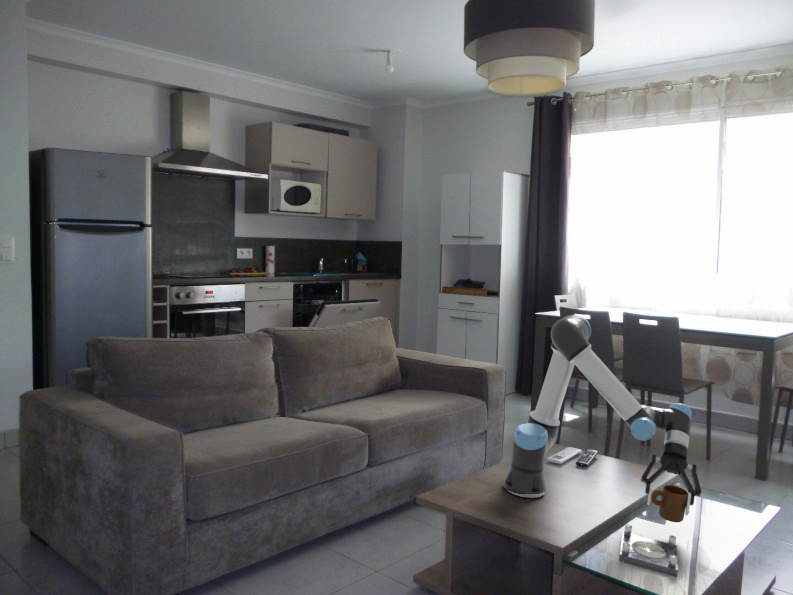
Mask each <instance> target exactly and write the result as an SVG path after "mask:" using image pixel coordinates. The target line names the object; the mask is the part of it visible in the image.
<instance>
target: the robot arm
mask: <svg viewBox="0 0 793 595" xmlns="http://www.w3.org/2000/svg"><path fill="white" fill-rule="evenodd" d="M591 335H592V328H591V324H590V323H589V321H588V320H587V319H586V318H585V317H583V316H581V315H577V314H568V315H565V316H564V317H562V318H561V319H558V320H557V321H556V322H555V323H554V324H553V326H552V327H551V330H550V339H551V341H552V342H551V345H550V348H551V350H552V351H553V352H552V355H551V359H550V363H549V365H548V368H547V371H546V375H545V378H544V381H543V384H542V388H541V390H540V393H539V397H538V401H537V403H536V406H535V410H532V411H530V413H529V414H528V418H527V420H526V423H521V424H519V425H518V426H516V427H515V430H514V433H513V443H512V444H513V445H512V450H511V451H512V452H511V459H510V466H509V469H508V470H507V472H506V475H505V477H504V479H503V485H502V487H503V486H504V487H503V489H504V488H505V489H506V490H508V491H511V492H514V493H518V494H540V493H543V492H545V493H546V491H545V490H547V487H546V481H545V476H544V469H545V468H544V467H545V461H546V460H545V457H546V454H547V453H548V452H549V451H550V450H551V448H552V447H554V445H555V444H556V442H557V440H558V435H559V433H558V432H559V427H560V426H561V425H560V424H561V422H560V419H559V418H558V417H559V414H560V411H561V408H562V404H563V402H564V398H565V397H566V396H565V395H566V392H567V389H568V387H569V384H570V381H571V377H572V374H573V371H574V368H575V366H576V367H577V369H578V370H579V371H580V372H581V374H583V376H585V378H586V379H587V380H588V381H589V383H591V384H592V386H593V387H594V388H595V390H597V391H598V392H599V394H600V395H601V396H602V397H603V398H604V399H605V400H606V401H607V403H608V404H609V405H610V406H611V407H612V408H613V410H615V412H616V413H617V414H618V415H619V416H620V418H622V419H623V421H624V422H625V423H626V424H627V426H628V427H629V428H630V432H631V435H632V436H633V437H634V438H635V439H636V440H639V441H648V440H651V439H652V438H653V437H654V436H655V434H656V433H657V430H660V431H665V434H664V442H663V447H662V454H661V455H662V456H657V455H656V454H652V455H651V461H650V463H649V464H648V466H647V467H646V469H645V471H644V472H643V474H642V475H641V479H640V481H641V482H642V483H644V484H645V485H646V486H645V491H644V492H645V494H646V495H648V496H647V502H646V505H647V506H650V505H651V502H652V500H651V495H652V493H653V487H654V482H655V481H656V480H657V479H658V478H659V477H660V476H662V474H664V473H665V472H667V473H671V474H674V475H678V476H679V478H680V479H681V480H682V483H683V485H684V486H685V488H686V491H687V492H688V498H687V504H686V509H685V514H684V516H689V514H690V507H691V506H693V505H694V503H695V497H700V496H701V494H702V489H701V484H700V480H699V478H698V473H697V468H698V467H697V465H696V464H690V463H688V461H687V460H688V451H689V450H688V449H689V443H690V442H689V441H690V433H691V427H692V409H691V408H690V407H689V406H688V405H686V404H684V403H680V402H679V403H677V402H676V403H672V404H670V405H669V407H668V408H661V407H657V406H651V405H645V404H640V403H639V401H638V400H637V399H636V398H635V397H634V396H633V395H632V394H631V393H630V391H629V390H628V389H627V388H626V386H624V384H623V383H622V382H621V381H620V380H619V379H618V378H617V377H616V375H615V374H614V373H613V372H612V371H611V370H610V368H609V367H607V365H606V364H605V363H604V362H603V361H602V360H601V359H600V357H599V356H598V355H597V354H596V353H595V352H594V351H593V350H592V344H591V343H590V342H589V341H590V340H589V339H591V338H590V337H591ZM658 463H660V464H661V466H660V468H658V469H657V470H656V471H655V472H654V473H653V474H651V476H649V474H650V473H651V471H653V468H654V467H655V465H656V464H658ZM686 469H688V471H689V472H690V477H691V480H692V483H691V481H690V479H689V478H688V476H687V473H686V471H685V470H686ZM648 476H649V477H648ZM692 484H693V485H692ZM505 489H504V490H505ZM506 490H505V491H506Z"/></svg>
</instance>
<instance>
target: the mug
mask: <svg viewBox="0 0 793 595" xmlns="http://www.w3.org/2000/svg"><path fill="white" fill-rule="evenodd" d="M688 493H689V492H688V490H687V489H683V488H682V487H679V486H676V485H672V484H671V485H669V484H667V485H664V486H663V489H662V490H661V489H657V490H654V491H652V495H651V502H652V504H653V505H656V506H659V508H658V514H659V516H660V518H662V519H664V520H665V521H668V522H672V523H681V522H683V520H684V518H685V511H686V504H687V498H688ZM658 496H660V499H657V497H658Z"/></svg>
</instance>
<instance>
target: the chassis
mask: <svg viewBox="0 0 793 595" xmlns="http://www.w3.org/2000/svg"><path fill="white" fill-rule="evenodd" d="M632 530H633V526H632V525H631V524H627V523H626V524H625V526H624V531H622V535H621V539H620V540H621V542H620V547H619V548H620V549H619V557H618V561H619V560H621V561H624V562H623V563H625V562H626V564H629V565H633V566H636V567H641V568H644V569H647V570H651V571H656V572H659V573H663V574H666V575H669V576H674V577H677V576H678V568H679V566H678V546H677V545H676V542H677V537H676V536H674V535H671V534H670V535H669V538H668V542H665V541H662V540H658V539H654V538H649V537H645V536H641V535H637V534H635V533H634V534H633V533H632ZM621 561H620V562H621Z"/></svg>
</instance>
